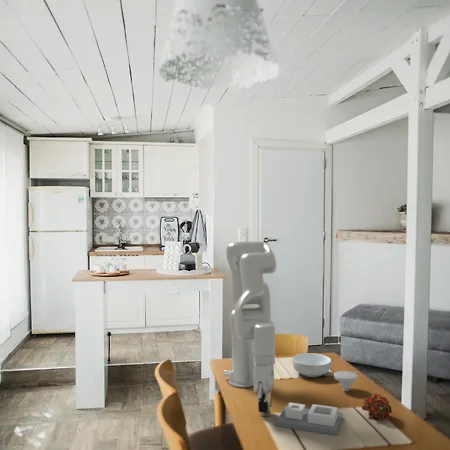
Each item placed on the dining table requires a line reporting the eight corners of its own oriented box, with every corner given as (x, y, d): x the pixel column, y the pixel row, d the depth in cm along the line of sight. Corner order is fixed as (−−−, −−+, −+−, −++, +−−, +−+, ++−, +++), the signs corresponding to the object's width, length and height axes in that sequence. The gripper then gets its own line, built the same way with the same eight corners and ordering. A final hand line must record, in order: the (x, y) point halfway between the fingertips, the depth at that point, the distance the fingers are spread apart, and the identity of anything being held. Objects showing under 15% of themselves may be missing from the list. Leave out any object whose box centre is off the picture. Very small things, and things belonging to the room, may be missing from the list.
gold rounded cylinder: (258, 416, 168) (257, 393, 168) (261, 411, 172) (261, 390, 172) (268, 418, 167) (268, 395, 167) (272, 413, 170) (271, 391, 170)
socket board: (276, 425, 161) (276, 412, 160) (286, 409, 174) (286, 397, 174) (336, 435, 153) (336, 421, 153) (342, 417, 166) (342, 404, 166)
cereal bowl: (285, 376, 209) (285, 360, 209) (302, 366, 223) (302, 351, 223) (321, 383, 200) (321, 367, 200) (336, 372, 213) (336, 356, 213)
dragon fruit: (388, 429, 160) (365, 420, 171) (402, 411, 163) (380, 403, 174) (373, 411, 159) (352, 403, 170) (388, 392, 162) (366, 386, 173)
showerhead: (362, 375, 188) (338, 376, 187) (363, 393, 188) (338, 395, 187) (354, 368, 197) (330, 368, 196) (354, 385, 197) (330, 386, 196)
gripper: (261, 351, 178) (261, 399, 178) (246, 364, 162) (247, 417, 163) (280, 353, 175) (281, 402, 176) (268, 366, 160) (268, 420, 160)
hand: (265, 409), depth 169 cm, fingers closed on gold rounded cylinder, 4 cm apart
